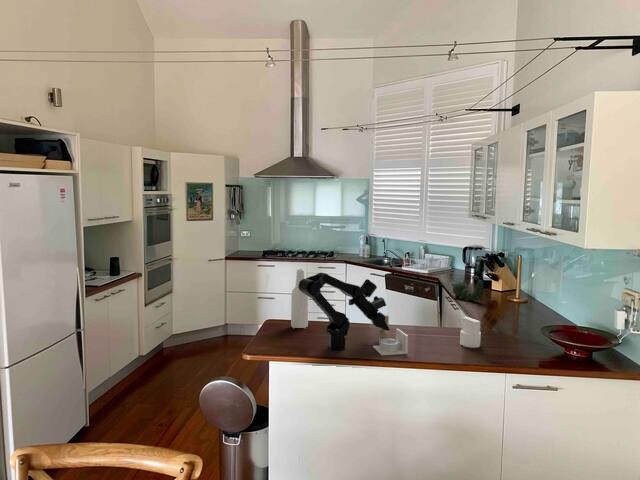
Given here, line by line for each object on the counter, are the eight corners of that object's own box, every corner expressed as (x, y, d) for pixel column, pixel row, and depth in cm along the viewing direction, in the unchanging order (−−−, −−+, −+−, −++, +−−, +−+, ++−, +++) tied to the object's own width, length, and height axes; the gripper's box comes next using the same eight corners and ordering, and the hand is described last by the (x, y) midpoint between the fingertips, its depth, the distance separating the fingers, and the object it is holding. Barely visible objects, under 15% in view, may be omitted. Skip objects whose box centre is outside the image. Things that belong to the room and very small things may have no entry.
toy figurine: (484, 305, 298) (454, 294, 319) (487, 277, 295) (457, 268, 315) (474, 306, 293) (445, 295, 314) (478, 278, 290) (448, 269, 310)
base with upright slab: (455, 342, 213) (457, 317, 212) (470, 340, 217) (472, 316, 216) (469, 348, 205) (470, 322, 204) (484, 346, 209) (485, 320, 207)
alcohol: (311, 327, 232) (312, 270, 230) (295, 330, 228) (296, 271, 225) (302, 323, 240) (303, 267, 237) (288, 325, 236) (288, 268, 233)
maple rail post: (380, 343, 210) (381, 317, 208) (377, 340, 214) (377, 314, 213) (389, 342, 211) (390, 316, 209) (385, 340, 215) (386, 314, 214)
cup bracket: (382, 355, 193) (382, 337, 193) (373, 347, 204) (373, 329, 203) (407, 353, 196) (408, 335, 196) (397, 345, 207) (397, 328, 206)
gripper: (381, 296, 200) (404, 320, 203) (370, 288, 219) (391, 310, 221) (364, 314, 200) (387, 338, 202) (354, 304, 218) (375, 326, 221)
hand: (385, 327), depth 212 cm, fingers open, 9 cm apart
